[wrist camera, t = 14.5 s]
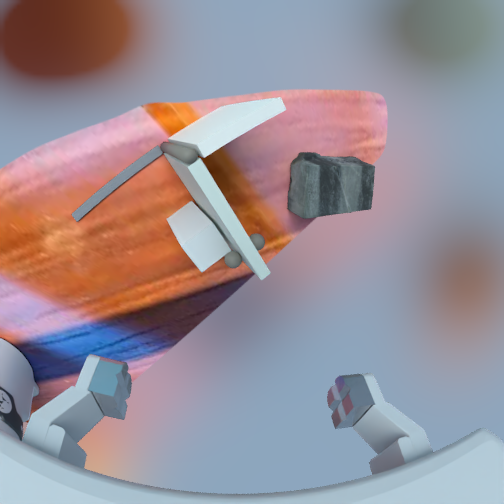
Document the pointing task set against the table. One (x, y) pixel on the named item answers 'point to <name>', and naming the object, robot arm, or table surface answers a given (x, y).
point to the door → (216, 208)
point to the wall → (198, 139)
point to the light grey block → (198, 236)
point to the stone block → (329, 185)
